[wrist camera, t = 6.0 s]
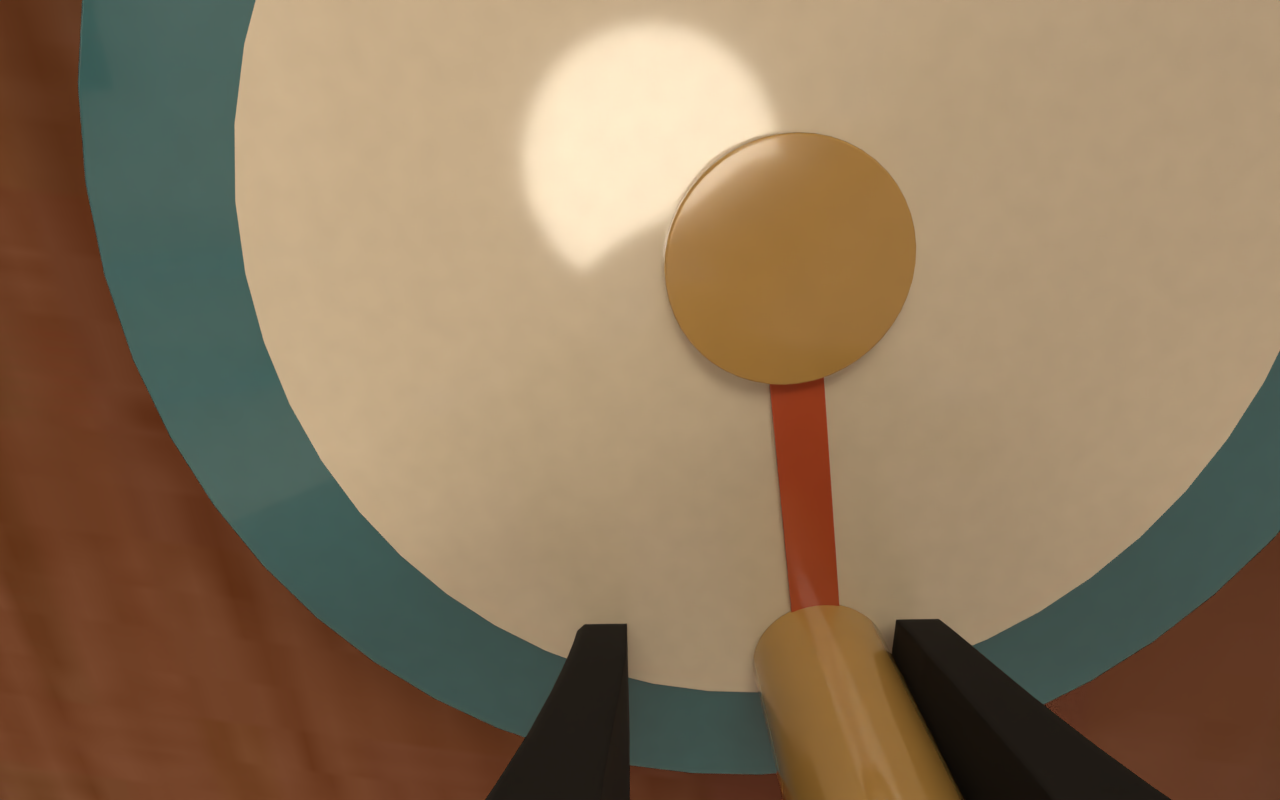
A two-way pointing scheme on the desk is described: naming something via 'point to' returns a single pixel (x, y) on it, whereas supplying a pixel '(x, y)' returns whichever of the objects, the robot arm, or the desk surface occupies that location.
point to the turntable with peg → (710, 336)
